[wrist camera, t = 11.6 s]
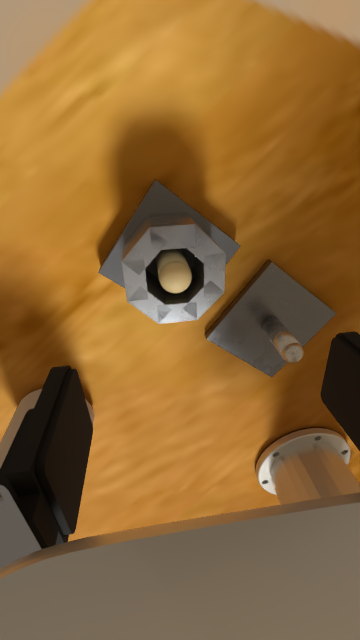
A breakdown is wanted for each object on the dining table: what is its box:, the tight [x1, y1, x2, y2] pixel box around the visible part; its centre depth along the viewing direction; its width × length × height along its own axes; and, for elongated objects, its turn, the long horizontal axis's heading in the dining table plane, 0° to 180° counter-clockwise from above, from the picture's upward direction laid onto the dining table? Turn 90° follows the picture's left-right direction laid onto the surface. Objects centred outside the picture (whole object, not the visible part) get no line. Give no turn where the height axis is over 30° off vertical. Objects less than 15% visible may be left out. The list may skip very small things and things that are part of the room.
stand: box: [205, 260, 337, 377], centre depth 27 cm, size 9×9×6 cm
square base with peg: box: [99, 179, 240, 293], centre depth 22 cm, size 8×8×6 cm
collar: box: [122, 212, 226, 324], centre depth 21 cm, size 7×7×4 cm
